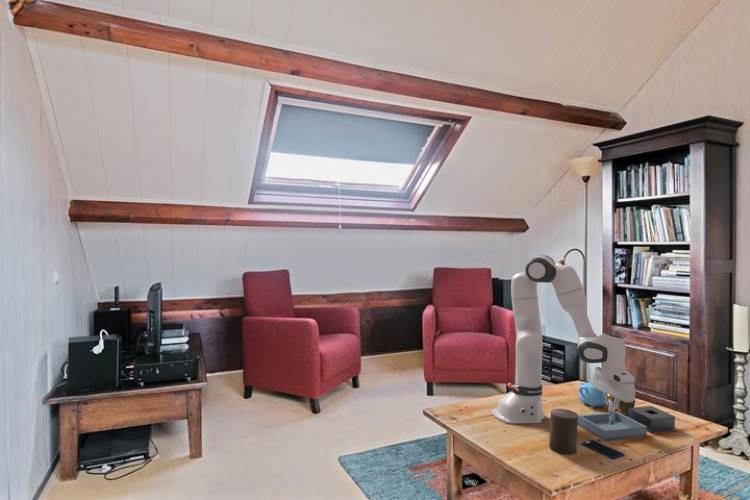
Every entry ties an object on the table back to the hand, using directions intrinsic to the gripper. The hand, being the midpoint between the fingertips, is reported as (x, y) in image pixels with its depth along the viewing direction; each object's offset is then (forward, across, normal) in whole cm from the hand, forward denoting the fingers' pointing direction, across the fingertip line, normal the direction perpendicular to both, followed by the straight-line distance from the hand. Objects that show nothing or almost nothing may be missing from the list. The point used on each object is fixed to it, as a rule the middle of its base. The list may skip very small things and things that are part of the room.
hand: (611, 405), depth 193 cm
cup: (+11, -13, +19) cm, 25 cm away
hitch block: (+10, 0, +20) cm, 23 cm away
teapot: (+11, -27, +14) cm, 32 cm away
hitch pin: (+8, 0, 0) cm, 8 cm away
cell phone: (+11, +14, -16) cm, 24 cm away
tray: (+10, 0, 0) cm, 10 cm away
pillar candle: (+11, +10, -30) cm, 33 cm away
